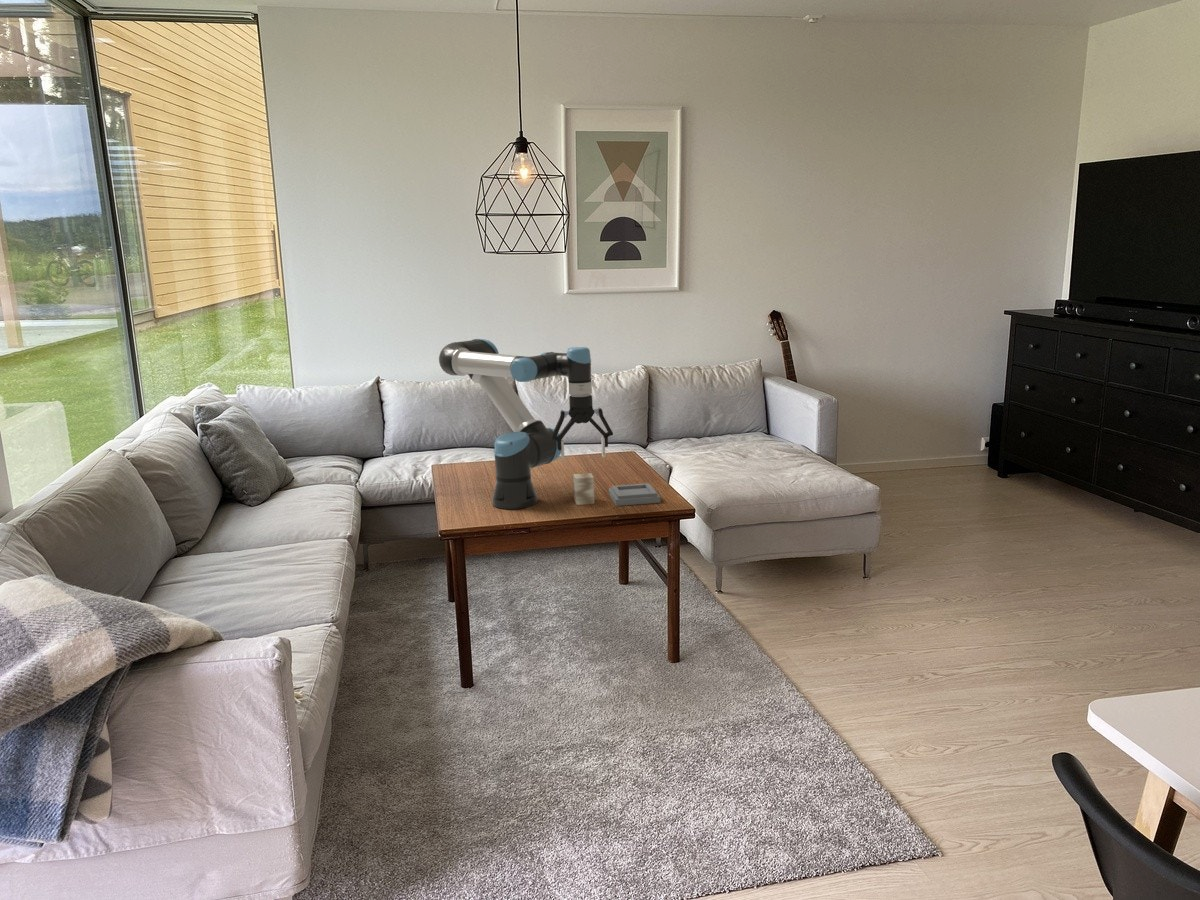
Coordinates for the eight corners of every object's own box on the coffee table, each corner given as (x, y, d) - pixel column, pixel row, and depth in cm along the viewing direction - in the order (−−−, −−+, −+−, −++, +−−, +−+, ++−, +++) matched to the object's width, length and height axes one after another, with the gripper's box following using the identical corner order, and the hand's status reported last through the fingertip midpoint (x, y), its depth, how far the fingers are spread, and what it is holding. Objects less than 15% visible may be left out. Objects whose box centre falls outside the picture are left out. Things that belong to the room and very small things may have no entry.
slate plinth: (615, 505, 288) (615, 497, 287) (608, 493, 302) (608, 485, 302) (660, 502, 290) (660, 493, 289) (651, 490, 304) (651, 482, 304)
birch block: (576, 504, 291) (575, 478, 289) (574, 500, 296) (573, 474, 294) (594, 503, 291) (593, 477, 289) (592, 498, 297) (591, 473, 295)
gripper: (543, 399, 280) (546, 463, 285) (620, 394, 284) (622, 458, 288) (541, 395, 288) (544, 458, 292) (616, 390, 291) (618, 453, 296)
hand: (583, 458), depth 290 cm, fingers open, 13 cm apart
